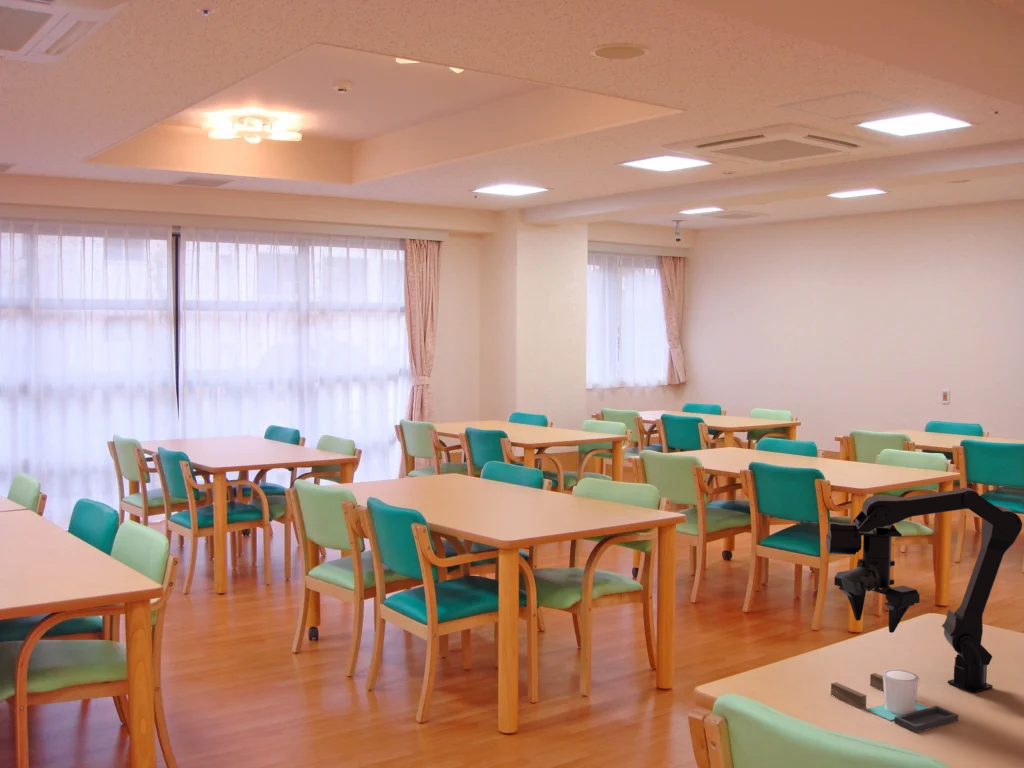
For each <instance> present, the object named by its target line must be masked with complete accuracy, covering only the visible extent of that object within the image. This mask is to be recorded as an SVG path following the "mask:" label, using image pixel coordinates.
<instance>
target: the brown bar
mask: <svg viewBox="0 0 1024 768" xmlns="http://www.w3.org/2000/svg"><path fill="white" fill-rule="evenodd" d="M869 680H870V681H869V682H870V683H869V686H870V687H872V688H875V689H878V690H879V691H882V692H884V687H883V675H881V674H879V673H876V672H874V673H871V674H870V678H869ZM832 695H833V696H832ZM830 696H832V697H834V696H835V697H834V698H836V697H837V698H836V699H838V700H840V699H841V700H840V701H843V702H845V703H848V704H849V705H851V706H854V707H856V708H858V709H860V710H861V709H864V708H866V707H867V694H864V693H861V692H860V691H858V690H855V689H852V688H851V687H849V686H846V685H844V684H842V683H839V682H837V681H836V682H831V684H830ZM866 709H867V708H866Z"/></svg>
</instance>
